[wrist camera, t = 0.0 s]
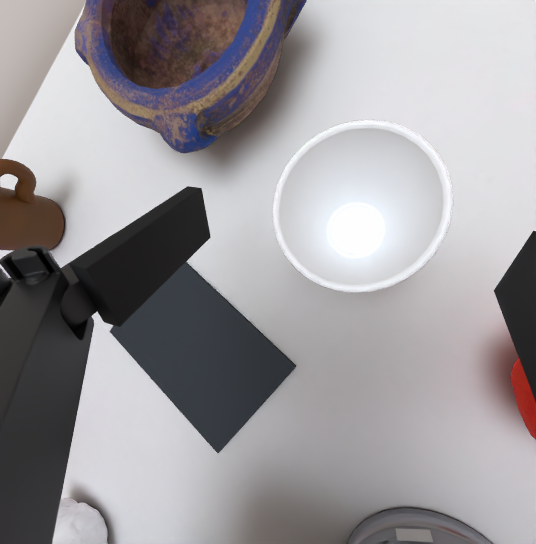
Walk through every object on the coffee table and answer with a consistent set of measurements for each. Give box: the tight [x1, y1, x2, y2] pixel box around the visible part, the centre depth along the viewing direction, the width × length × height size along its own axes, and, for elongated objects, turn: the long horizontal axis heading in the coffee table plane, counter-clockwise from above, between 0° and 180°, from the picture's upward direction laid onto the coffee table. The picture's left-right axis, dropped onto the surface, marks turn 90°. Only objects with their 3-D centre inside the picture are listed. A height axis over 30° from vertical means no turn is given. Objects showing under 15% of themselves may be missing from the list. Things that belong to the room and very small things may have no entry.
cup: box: [272, 120, 453, 293], centre depth 21 cm, size 10×10×11 cm
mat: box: [110, 262, 296, 453], centre depth 32 cm, size 20×14×1 cm
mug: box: [0, 159, 64, 250], centre depth 34 cm, size 12×8×9 cm, turn 134°
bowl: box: [75, 0, 307, 153], centre depth 25 cm, size 18×18×10 cm
